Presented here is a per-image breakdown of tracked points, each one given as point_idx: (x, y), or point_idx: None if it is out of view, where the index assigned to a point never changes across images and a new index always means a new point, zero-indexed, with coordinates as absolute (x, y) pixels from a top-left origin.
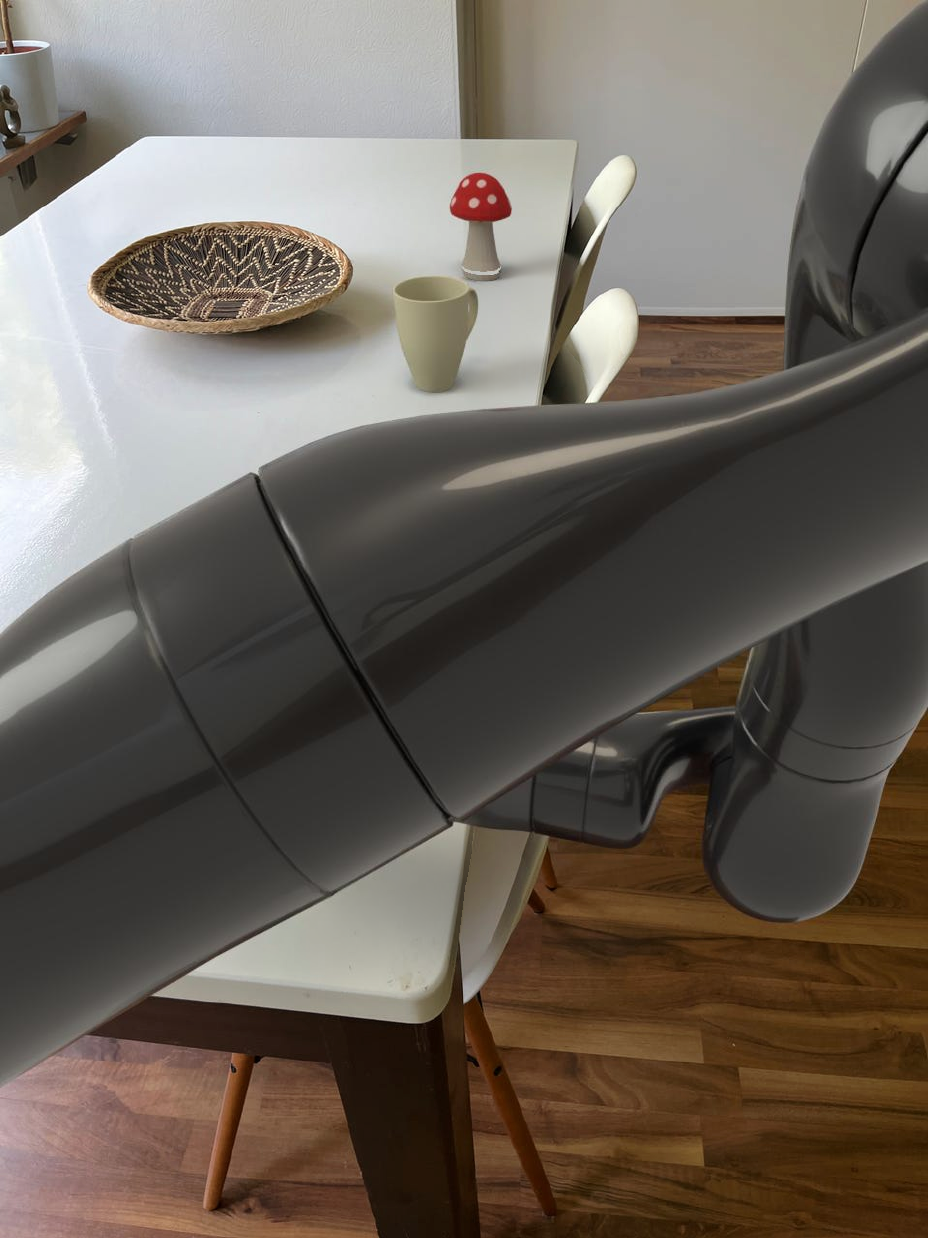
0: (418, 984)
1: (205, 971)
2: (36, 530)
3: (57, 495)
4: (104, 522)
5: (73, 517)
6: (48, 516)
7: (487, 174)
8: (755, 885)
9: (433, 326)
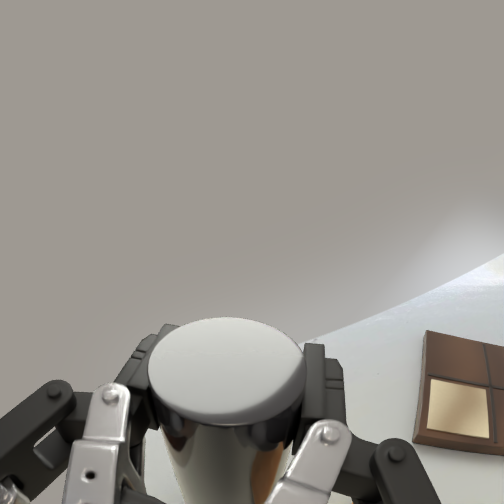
0: None
1: None
2: (466, 284)
3: (489, 281)
4: (493, 302)
5: (485, 291)
6: (477, 283)
7: None
8: None
9: None
